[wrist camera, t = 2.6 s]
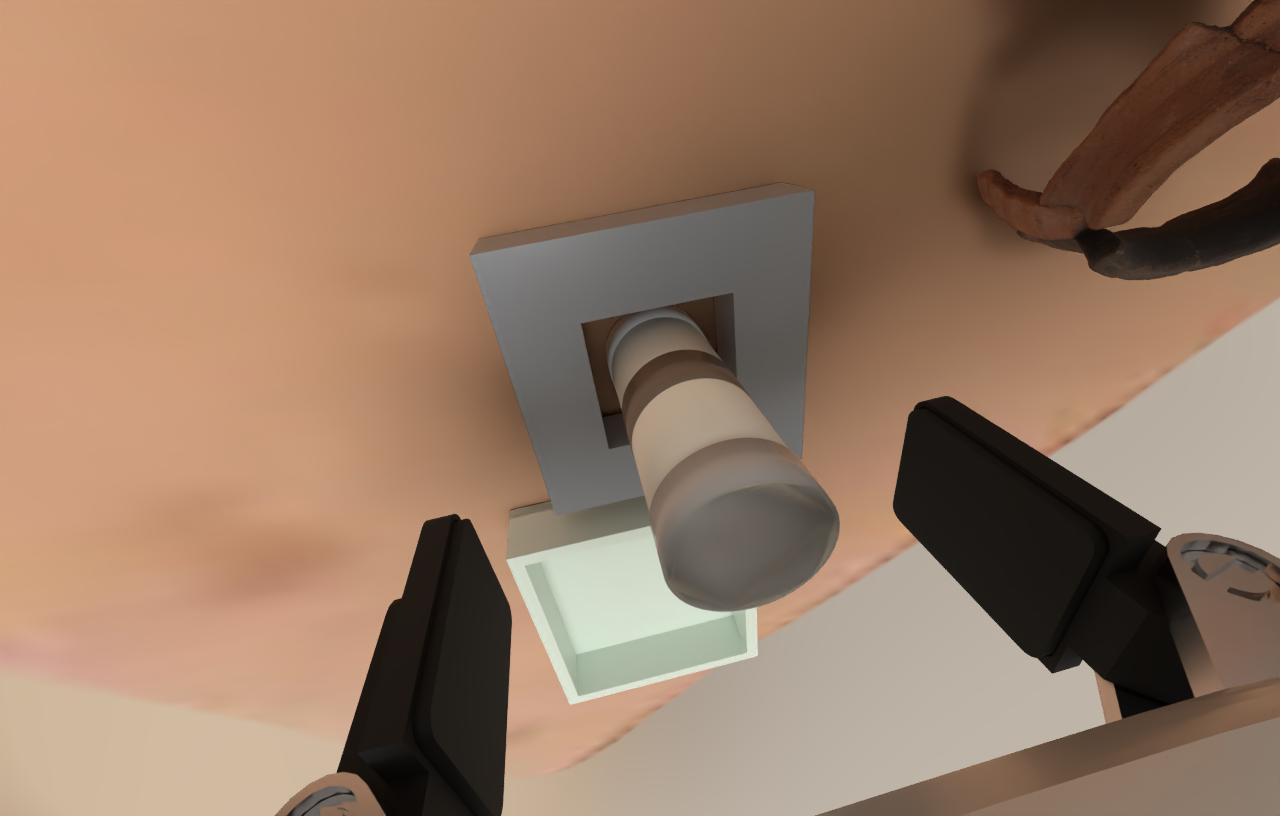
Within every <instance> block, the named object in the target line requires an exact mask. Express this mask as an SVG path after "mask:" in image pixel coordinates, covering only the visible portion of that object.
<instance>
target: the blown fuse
mask: <svg viewBox="0 0 1280 816" xmlns="http://www.w3.org/2000/svg"><path fill="white" fill-rule="evenodd" d="M606 360H607V364H608V368H609V372H610V376H611V379H612V382H613V384H614V387H615V388H616V392H617V395H618V399H619V403H620V406H621V410H622V417H623V420H624V424H625V428H626V432H627V435H628V439H629V443H630V446H631V450H632V454H633V457H634V460H635V462H636V465H637V469H638V473H639V477H640V480H641V484H642V488H643V491H644V495H645V499H646V502H647V506H648V510H649V520H650V527H651V531H652V534H653V538H654V542H655V546H656V550H657V553H658V557H659V561H660V565H661V568H662V572H663V576H664V579H665V582H666V584H667V586H668V588H669V589H670V590H671V592H672V593H673V594H674V595H675V596H676V597H677V598H678V599H680V600H681V601H683V602H685V603H686V604H688V605H691V606H693V607H695V608H699V609H702V610H708V611H716V612H733V611H741V610H747V609H751V608H755V607H759V606H762V605H765V604H768V603H771V602H773V601H776V600H778V599H780V598H782V597H784V596H786V595H788V594H789V593H791V592H793V591H795V590H796V589H797V588H799V587H800V586H802V585H803V584H804V583H806V582H807V581H808V580H809V579H811V578H812V577H813V576H814V575H815V574H816V573H817V572H818V571H819V570H820V569H821V567H822V566H823V565H824V564H825V563H826V561H827V560H828V558H829V557H830V555H831V553H832V551H833V549H834V547H835V545H836V542H837V539H838V535H839V526H840V522H839V515H838V512H837V509H836V507H835V505H834V504H833V502H832V500H831V499H830V498H829V496H828V495H827V494H826V493H825V491H824V490H823V489H822V487H821V486H820V485H819V483H818V482H817V481H816V479H815V478H814V477H813V476H812V474H811V473H810V472H809V470H808V469H807V468H806V466H805V465H804V464H803V463H802V461H801V460H800V459H799V457H798V456H797V455H796V454H795V453H794V452H792V451H791V450H790V449H789V448H788V447H787V446H786V444H785V443H784V442H783V441H782V439H781V438H780V437H779V435H778V434H777V433H776V431H775V430H774V429H773V427H772V426H771V425H770V423H769V422H768V421H767V419H766V418H765V417H764V415H763V414H762V413H761V411H760V410H759V409H758V407H757V406H756V405H755V403H754V401H753V400H752V398H751V397H750V395H749V394H748V393H747V392H746V390H745V389H744V388H743V386H742V385H741V384H740V382H739V381H738V380H737V378H736V377H735V376H734V374H733V373H732V372H731V370H730V369H729V368H728V367H727V366H726V365H725V363H724V362H723V361H722V360H721V359H720V357H719V356H718V355H717V353H716V352H715V351H714V349H713V348H712V347H711V345H710V344H709V343H708V341H707V338H706V337H705V335H704V334H703V332H702V331H701V329H700V328H699V327H698V326H697V324H696V323H695V322H694V320H693V319H692V318H691V317H690V316H689V315H688V314H687V313H686V312H685V311H683V310H682V309H680V308H678V307H676V306H674V305H669V306H665V307H660V308H655V309H650V310H645V311H640V312H635V313H630V314H625V315H623V316H622V317H621V318H620V319H619V320H618V321H617V322H616V323H615V325H614V326H613V328H612V329H611V331H610V334H609V336H608V339H607V343H606Z"/></svg>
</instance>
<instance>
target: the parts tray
mask: <svg viewBox="0 0 1280 816" xmlns="http://www.w3.org/2000/svg"><path fill="white" fill-rule="evenodd" d="M506 560H507V563H508V565H509V567H510V570H511V572H512V574H513V576H514V579H515V581H516V583H517V585H518V588H519V590H520V592H521V594H522V597H523V599H524V601H525V604H526V606H527V608H528V610H529V613H530V615H531V617H532V619H533V622H534V624H535V626H536V629H537V631H538V633H539V635H540V638H541V640H542V642H543V644H544V647H545V649H546V651H547V654H548V656H549V658H550V660H551V663H552V665H553V667H554V669H555V672H556V674H557V676H558V679H559V681H560V683H561V685H562V688H563V690H564V692H565V694H566V697H567V699H568V701H569V703H570V705H571V704H575V703H579V702H583V701H587V700H591V699H594V698H598V697H602V696H606V695H610V694H614V693H618V692H621V691H625V690H629V689H633V688H637V687H641V686H644V685H648V684H652V683H656V682H660V681H664V680H667V679H671V678H675V677H679V676H683V675H687V674H690V673H694V672H698V671H702V670H706V669H710V668H713V667H717V666H721V665H725V664H729V663H732V662H736V661H740V660H744V659H748V658H752V657H756V656H757V655H758V651H757V607H755V608H751V609H747V610H741V611H733V612H716V611H708V610H702V609H699V608H695V607H693V606H691V605H688V604H686V603H685V602H683V601H681V600H680V599H678V598H677V597H676V596H675V595H674V594H673V593H672V592H671V590H670V589H669V588H668V586H667V584H666V582H665V579H664V576H663V572H662V568H661V565H660V561H659V557H658V553H657V550H656V546H655V542H654V538H653V534H652V531H651V527H650V520H649V510H648V506H647V502H646V499H645V496H640V497H636V498H632V499H627V500H623V501H619V502H614V503H610V504H606V505H601V506H597V507H593V508H588V509H584V510H580V511H575V512H571V513H567V514H562V515H558V516H556V515H555V512H554V509H553V506H552V503H551V501H549V502H544V503H540V504H536V505H531V506H527V507H522V508H518V509H514V510H511V511H510V522H509V534H508V545H507V557H506Z"/></svg>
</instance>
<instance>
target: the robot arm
mask: <svg viewBox="0 0 1280 816" xmlns="http://www.w3.org/2000/svg"><path fill="white" fill-rule="evenodd" d="M893 509H894V512H895V514H896V516H897V518H898V519H899V521H900V522H901V523H902V524H903V525H904V526H905V527H906V528H907V529H908V530H909V531H910V532H911V533H912V534H913V535H914V536H915V537H916V539H917V540H918V541H919V542H920V543H921V544H922V545H923V546H924V547H925V548H926V549H927V550H928V551H929V552H930V553H931V554H932V555H933V556H934V558H935V559H936V560H937V561H938V562H939V563H940V564H941V565H942V566H943V567H944V568H945V569H946V570H947V571H948V572H949V573H950V574H951V575H952V576H953V578H954V579H955V580H956V581H958V583H959V584H960V585H961V586H962V587H963V588H964V589H965V590H966V591H967V592H968V593H969V594H970V595H971V596H972V597H973V599H974V600H975V601H976V602H977V603H978V604H979V605H980V606H981V607H982V608H983V609H984V610H985V611H986V612H987V613H988V614H989V616H990V617H991V618H992V619H993V620H994V621H995V622H996V623H997V624H998V625H999V626H1000V627H1001V628H1002V629H1003V630H1004V631H1005V632H1006V633H1007V635H1008V636H1010V638H1011V639H1012V640H1013V641H1014V642H1015V643H1016V644H1017V645H1018V646H1019V647H1020V648H1021V649H1022V650H1023V651H1024V652H1025V653H1026V654H1028V655H1030V656H1031V657H1035V658H1038V659H1039V660H1040V661H1041V662H1042V663H1043V664H1044V665H1045V667H1046V668H1048V670H1049V671H1050V672H1051V673H1056V672H1059V671H1062V670H1066V669H1069V668H1072V667H1076V666H1078V665H1080V663H1081V661H1082V660H1084V661H1085V662H1086V663H1087V664H1088V665H1089V666H1090V667H1091V668H1092V669H1093V670H1094V671H1095V676H1096V680H1097V685H1098V689H1099V694H1100V699H1101V703H1102V707H1103V712H1104V717H1105V721H1106V724H1105V725H1101V726H1098V727H1095V728H1092V729H1088V730H1085V731H1082V732H1079V733H1076V734H1072V735H1069V736H1066V737H1063V738H1060V739H1056V740H1053V741H1050V742H1047V743H1044V744H1040V745H1037V746H1034V747H1031V748H1028V749H1024V750H1021V751H1018V752H1015V753H1011V754H1008V755H1005V756H1002V757H999V758H995V759H992V760H990V761H986V762H983V763H980V764H977V765H973V766H970V767H967V768H964V769H961V770H958V771H954V772H951V773H948V774H945V775H942V776H939V777H936V778H932V779H929V780H926V781H923V782H920V783H916V784H913V785H910V786H907V787H904V788H901V789H898V790H895V791H891V792H888V793H885V794H882V795H879V796H876V797H873V798H869V799H866V800H863V801H860V802H857V803H854V804H850V805H847V806H844V807H841V808H838V809H835V810H832V811H829V812H825V813H822V814H819V815H816V816H1280V559H1279V558H1277V557H1275V556H1273V555H1271V554H1269V553H1267V552H1265V551H1264V550H1262V549H1259V548H1257V547H1254V546H1252V545H1249V544H1246V543H1244V542H1241V541H1238V540H1234V539H1231V538H1227V537H1223V536H1219V535H1213V534H1203V533H1189V534H1181V535H1178V536H1176V537H1173V538H1172V539H1171V540H1170V541H1169V543H1168V544H1167V546H1166V547H1165V546H1163V545H1162V544H1160V543H1159V542H1157V541H1155V538H1156V537H1157V535H1158V533H1159V532H1160V530H1161V528H1160V527H1158V526H1156V525H1155V524H1153V523H1152V522H1150V521H1148V520H1147V519H1145V518H1144V517H1142V516H1140V515H1139V514H1137V513H1136V512H1134V511H1132V510H1131V509H1129V508H1128V507H1126V506H1124V505H1123V504H1121V503H1120V502H1118V501H1117V500H1115V499H1113V498H1112V497H1110V496H1109V495H1107V494H1105V493H1104V492H1102V491H1101V490H1099V489H1097V488H1096V487H1094V486H1092V485H1091V484H1089V483H1088V482H1086V481H1084V480H1083V479H1081V478H1080V477H1078V476H1077V475H1075V474H1073V473H1072V472H1070V471H1069V470H1067V469H1065V468H1064V467H1062V466H1061V465H1059V464H1057V463H1056V462H1054V461H1053V460H1051V459H1049V458H1048V457H1046V456H1045V455H1043V454H1042V453H1040V452H1038V451H1037V450H1035V449H1034V448H1032V447H1030V446H1029V445H1027V444H1026V443H1024V442H1022V441H1021V440H1019V439H1018V438H1016V437H1014V436H1013V435H1011V434H1010V433H1008V432H1006V431H1005V430H1003V429H1002V428H1000V427H998V426H997V425H995V424H994V423H992V422H990V421H989V420H987V419H986V418H984V417H982V416H981V415H979V414H978V413H976V412H975V411H973V410H971V409H970V408H968V407H967V406H965V405H963V404H962V403H960V402H959V401H957V400H955V399H954V398H951V397H949V396H943V397H939V398H935V399H931V400H927V401H923V402H920V403H918V404H917V405H916V406H915V408H914V411H912V412H911V413H910V414H909V417H908V422H907V428H906V433H905V439H904V444H903V450H902V455H901V461H900V467H899V472H898V478H897V483H896V489H895V495H894V500H893ZM511 627H512V617H511V610H510V606H509V603H508V601H507V598H506V596H505V594H504V592H503V590H502V588H501V585H500V583H499V581H498V579H497V577H496V575H495V572H494V570H493V568H492V566H491V564H490V562H489V559H488V557H487V555H486V553H485V551H484V549H483V546H482V544H481V542H480V540H479V538H478V536H477V533H476V531H475V529H474V527H473V525H472V523H471V521H470V520H469V519H463V520H461V519H460V517H459V516H458V515H457V514H452V515H448V516H444V517H440V518H436V519H432V520H427V521H426V522H425V523H424V525H423V527H422V530H421V534H420V537H419V541H418V544H417V548H416V551H415V555H414V558H413V561H412V565H411V568H410V572H409V575H408V579H407V582H406V586H405V589H404V593H403V596H402V598H401V599H397V600H394V601H393V602H392V604H391V605H390V606H389V608H388V611H387V613H386V616H385V619H384V622H383V626H382V629H381V632H380V635H379V638H378V642H377V645H376V648H375V651H374V654H373V658H372V661H371V664H370V667H369V670H368V674H367V677H366V680H365V683H364V686H363V690H362V693H361V696H360V699H359V702H358V706H357V709H356V712H355V715H354V719H353V722H352V725H351V728H350V731H349V735H348V738H347V741H346V744H345V747H344V751H343V754H342V757H341V761H340V763H339V767H338V770H337V773H336V774H330V775H326V776H324V777H322V778H320V779H318V780H316V781H315V782H312V783H310V784H309V785H307V786H306V787H305V788H303V789H302V790H301V791H300V792H298V793H297V794H296V795H295V796H293V797H292V798H291V799H290V800H289V801H288V802H287V803H286V804H285V805H284V806H283V807H282V808H281V810H280V811H279V812H278V813H277V814H276V815H275V816H501V813H502V807H503V793H504V773H505V752H506V731H507V710H508V690H509V669H510V648H511Z"/></svg>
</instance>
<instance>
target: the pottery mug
mask: <svg viewBox="0 0 1280 816" xmlns="http://www.w3.org/2000/svg"><path fill="white" fill-rule="evenodd" d="M1279 97H1280V0H1254V1H1253V2H1252V3H1251V4H1250V5H1249V6H1248V7H1247V8H1246V9H1245V10H1244V11H1243V12H1242V13H1241V14H1240V16H1239V17H1238V18H1237V19H1236V20H1235V21H1234V22H1233V23H1232V24H1231V25H1230V26H1227V27H1217V26H1207V25H1206V24H1203V23H1200V22H1191V23H1188V24H1187V25H1186V26H1185V27H1184V28H1183V29H1181V30H1180V31H1179V32H1178V33H1177V34H1176V35H1175V36H1174V37H1173V38H1172V39H1171V40H1170V41H1169V43H1168V44H1167V45H1166V46H1165V47H1164V49H1163V50H1162V51H1161V53H1160V54H1159V55H1158V56H1157V57H1156V58H1155V59H1154V60H1153V61H1152V62H1151V63H1150V64H1149V65H1148V67H1147V68H1146V69H1145V70H1144V71H1143V72H1142V73H1141V74H1140V76H1139V77H1138V78H1137V79H1136V80H1135V81H1134V82H1133V83H1132V84H1131V85H1130V86H1129V87H1128V88H1127V89H1126V90H1125V91H1123V92H1122V93H1121V94H1120V95H1119V96H1118V98H1117V99H1116V100H1115V101H1114V102H1113V103H1112V104H1111V105H1110V106H1109V107H1108V108H1107V109H1106V110H1105V112H1104V113H1103V115H1102V116H1101V118H1100V120H1099V121H1098V123H1097V124H1096V126H1095V127H1094V129H1093V130H1092V131H1091V132H1090V134H1089V135H1088V136H1087V137H1086V138H1085V140H1084V141H1083V142H1082V143H1081V144H1080V145H1079V146H1078V147H1077V148H1076V149H1075V150H1074V151H1073V152H1072V153H1071V155H1070V156H1069V157H1068V158H1067V159H1066V160H1065V161H1064V162H1063V163H1062V165H1061V166H1060V167H1059V168H1058V170H1057V171H1056V172H1055V174H1054V175H1053V177H1052V178H1051V179H1050V181H1049V182H1048V184H1047V186H1046V188H1045V189H1044V192H1043V193H1041V192H1035V191H1030V190H1026V189H1023V188H1020V187H1018V186H1017V185H1015V184H1013V183H1012V182H1010V181H1009V180H1008V179H1005V178H1004V177H1003V176H1002V175H1001V174H1000V173H999V172H998V171H995V170H993V169H989V170H986V171H983V172H981V173H979V174H978V175H977V184H978V189H979V191H980V194H981V197H982V199H983V201H984V202H985V203H986V204H987V205H989V206H990V207H991V208H992V209H993V211H994V213H995V214H996V215H997V217H998V218H999V219H1001V220H1005V221H1007V222H1008V224H1009V225H1010V226H1011V227H1012V228H1013V229H1015V230H1017V234H1018V235H1019V236H1021V237H1022V238H1025V239H1027V240H1031V241H1034V242H1038V243H1042V244H1045V245H1048V246H1050V247H1053V248H1057V249H1061V250H1066V251H1073V252H1079V253H1084V255H1085V257H1086V258H1087V260H1088V265H1089V267H1090V269H1092V270H1093V271H1095V272H1097V273H1100V274H1102V275H1104V276H1107V277H1111V278H1120V279H1125V280H1150V279H1157V278H1162V277H1167V276H1173V275H1177V274H1180V273H1182V272H1185V271H1195V270H1200V269H1204V268H1208V267H1211V266H1218V265H1221V264H1224V263H1227V262H1229V261H1232V260H1234V259H1237V258H1240V257H1243V256H1246V255H1249V254H1253V253H1255V252H1259V251H1262V250H1265V249H1267V248H1270V247H1272V246H1275V245H1277V244H1279V243H1280V158H1273V159H1271V160H1269V161H1268V162H1267V163H1266V164H1265V165H1263V166H1262V168H1261V169H1260V171H1259V172H1258V174H1257V175H1256V177H1255V178H1254V179H1253V180H1252V181H1251V182H1250V183H1249V184H1248V185H1246V186H1245V187H1243V188H1241V189H1240V190H1238V191H1236V192H1234V193H1233V194H1231V195H1230V196H1228V197H1227V198H1225V199H1223V200H1221V201H1218V202H1215V203H1212V204H1210V205H1207V206H1204V207H1202V208H1200V209H1197V210H1194V211H1190V212H1188V213H1185V214H1182V215H1180V216H1178V217H1176V218H1174V219H1172V220H1169V221H1167V222H1166V223H1164V224H1163V225H1162V226H1160V227H1154V228H1147V227H1141V228H1135V229H1129V230H1123V231H1118V232H1114V233H1113V232H1111V231H1109V230H1107V229H1104V228H1106V227H1110V226H1115V225H1119V224H1123V223H1125V222H1127V221H1129V220H1130V219H1131V218H1132V217H1133V216H1134V215H1135V214H1136V212H1137V211H1138V210H1139V209H1140V207H1141V206H1142V205H1143V204H1144V203H1145V202H1146V201H1147V199H1148V198H1149V197H1150V196H1151V195H1152V194H1153V192H1154V191H1156V190H1157V189H1158V188H1159V187H1160V186H1161V185H1162V184H1163V183H1164V182H1165V180H1166V179H1167V178H1168V177H1169V176H1170V175H1171V174H1172V173H1173V172H1174V171H1175V170H1176V169H1177V168H1178V167H1180V166H1181V165H1182V164H1183V163H1185V162H1186V161H1187V160H1189V159H1190V158H1192V157H1193V156H1195V155H1196V154H1197V153H1199V152H1200V151H1201V150H1202V149H1204V148H1205V147H1206V146H1208V145H1209V144H1211V143H1212V142H1213V141H1215V140H1216V139H1217V138H1219V137H1220V136H1222V135H1223V134H1224V133H1226V132H1227V131H1228V130H1230V129H1231V128H1233V127H1234V126H1236V125H1238V124H1239V123H1241V122H1242V121H1244V120H1245V119H1247V118H1248V117H1250V116H1251V115H1253V114H1255V113H1256V112H1258V111H1260V110H1261V109H1263V108H1264V107H1266V106H1268V105H1269V104H1271V103H1272V102H1274V101H1275V100H1276V99H1278V98H1279Z"/></svg>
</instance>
